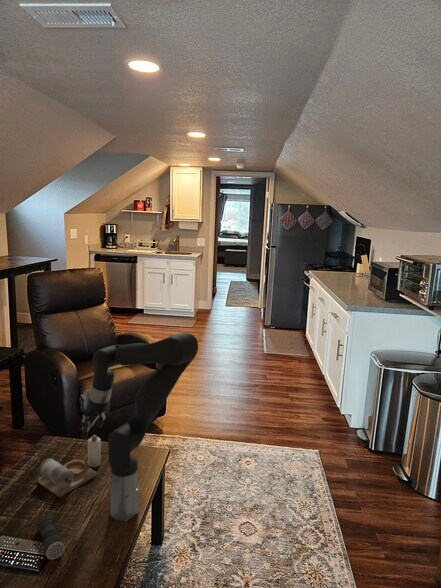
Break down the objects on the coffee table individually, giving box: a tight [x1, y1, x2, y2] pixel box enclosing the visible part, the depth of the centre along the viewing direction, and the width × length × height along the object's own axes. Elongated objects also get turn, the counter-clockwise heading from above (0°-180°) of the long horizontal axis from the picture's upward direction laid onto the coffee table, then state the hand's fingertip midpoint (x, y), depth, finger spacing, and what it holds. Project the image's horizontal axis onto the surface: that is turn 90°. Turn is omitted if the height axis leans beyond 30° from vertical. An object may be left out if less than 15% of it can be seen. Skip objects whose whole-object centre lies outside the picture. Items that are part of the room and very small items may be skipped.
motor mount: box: [37, 457, 97, 498], centre depth 163 cm, size 15×17×8 cm
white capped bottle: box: [87, 434, 102, 468], centre depth 174 cm, size 5×5×13 cm
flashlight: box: [36, 514, 66, 561], centre depth 133 cm, size 15×5×5 cm, turn 35°
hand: (91, 432), depth 154 cm, fingers open, 8 cm apart
